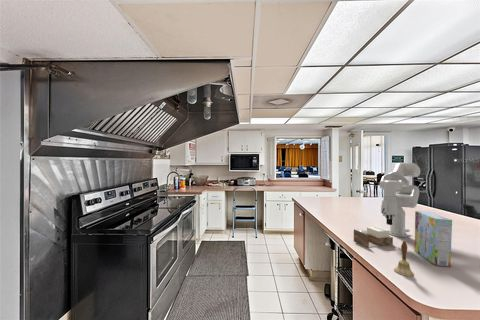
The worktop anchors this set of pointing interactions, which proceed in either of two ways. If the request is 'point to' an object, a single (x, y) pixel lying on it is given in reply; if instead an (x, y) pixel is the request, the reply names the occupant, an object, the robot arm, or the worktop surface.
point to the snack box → (433, 238)
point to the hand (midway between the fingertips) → (389, 224)
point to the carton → (378, 232)
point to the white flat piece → (362, 231)
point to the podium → (371, 239)
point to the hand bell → (403, 263)
